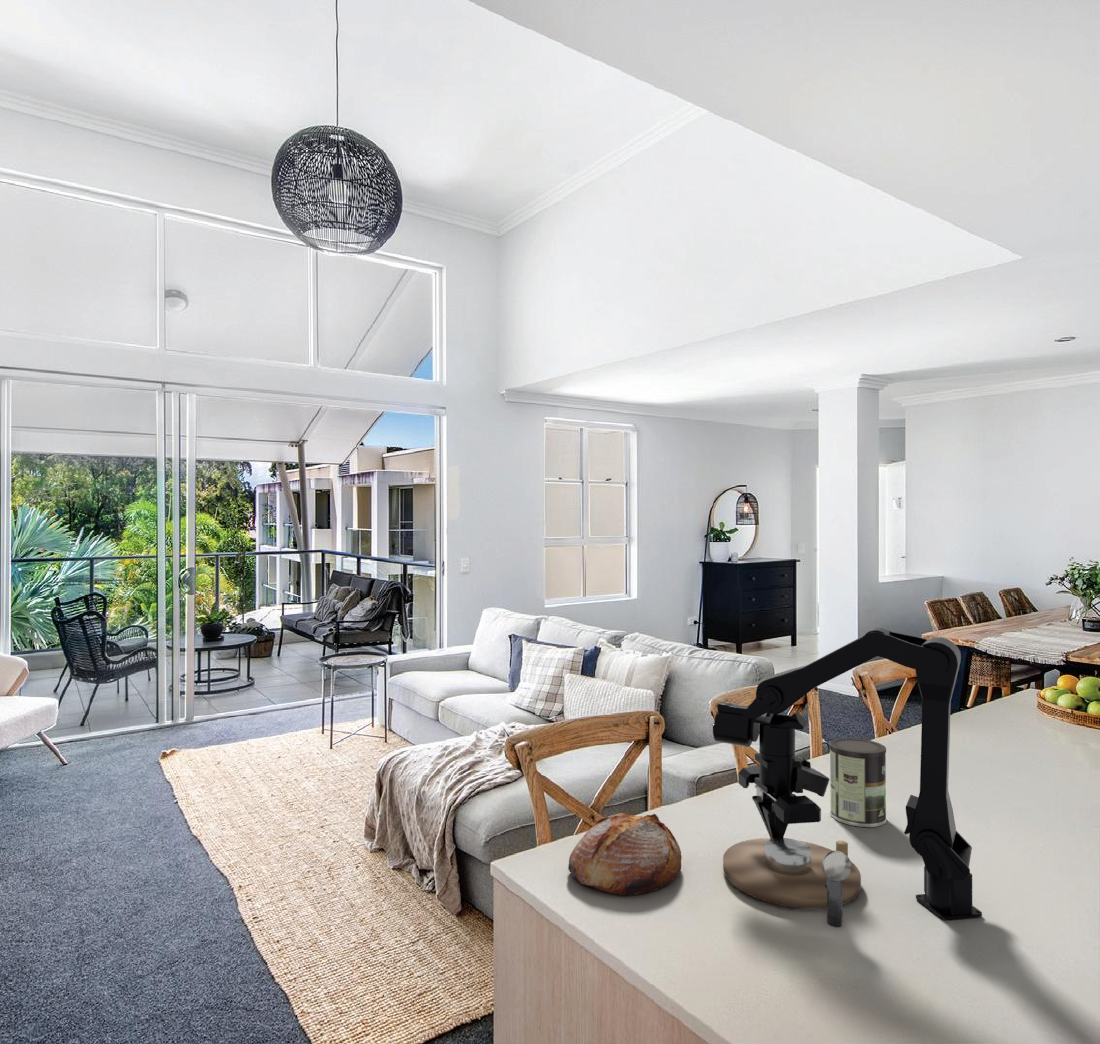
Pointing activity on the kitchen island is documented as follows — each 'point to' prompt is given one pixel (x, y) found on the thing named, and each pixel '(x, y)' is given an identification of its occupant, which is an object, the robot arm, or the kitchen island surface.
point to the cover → (788, 856)
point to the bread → (626, 855)
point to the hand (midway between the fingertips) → (776, 844)
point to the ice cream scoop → (835, 884)
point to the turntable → (785, 876)
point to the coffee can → (858, 782)
